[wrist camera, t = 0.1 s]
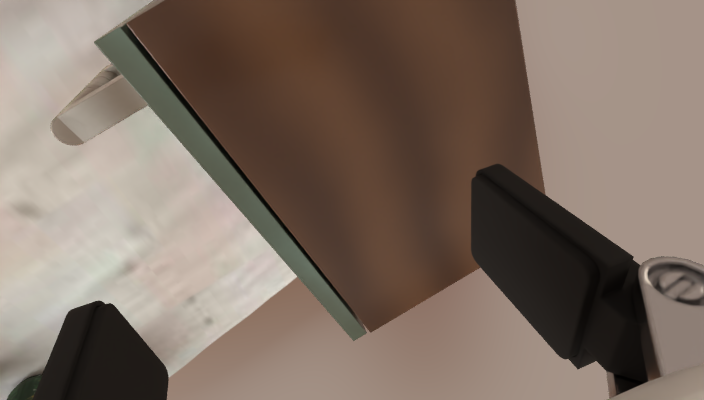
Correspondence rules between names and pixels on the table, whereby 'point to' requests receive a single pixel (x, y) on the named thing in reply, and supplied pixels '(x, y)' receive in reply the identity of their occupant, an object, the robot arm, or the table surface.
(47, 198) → the table surface
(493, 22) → the box
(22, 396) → the coffee jar
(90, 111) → the cupboard door
